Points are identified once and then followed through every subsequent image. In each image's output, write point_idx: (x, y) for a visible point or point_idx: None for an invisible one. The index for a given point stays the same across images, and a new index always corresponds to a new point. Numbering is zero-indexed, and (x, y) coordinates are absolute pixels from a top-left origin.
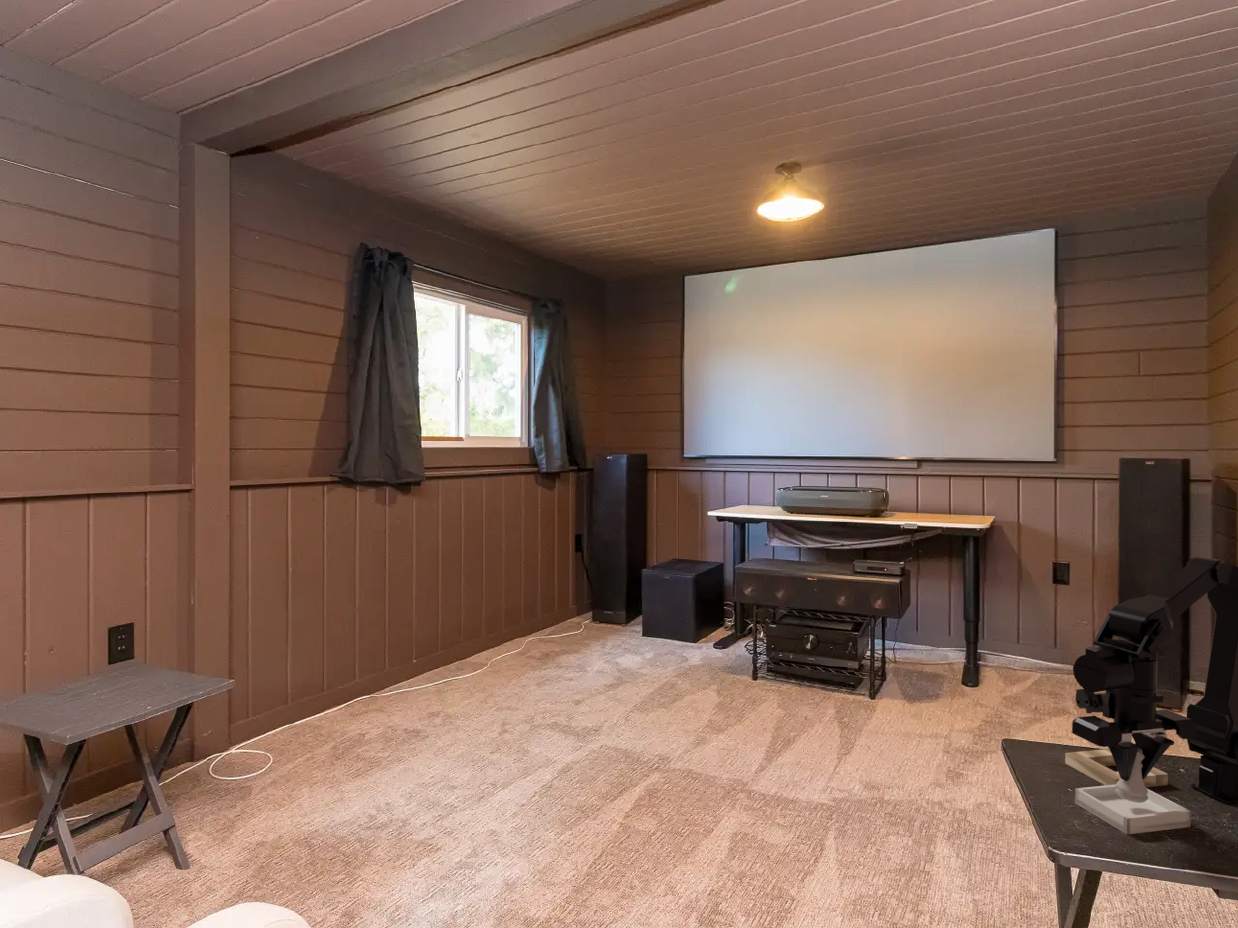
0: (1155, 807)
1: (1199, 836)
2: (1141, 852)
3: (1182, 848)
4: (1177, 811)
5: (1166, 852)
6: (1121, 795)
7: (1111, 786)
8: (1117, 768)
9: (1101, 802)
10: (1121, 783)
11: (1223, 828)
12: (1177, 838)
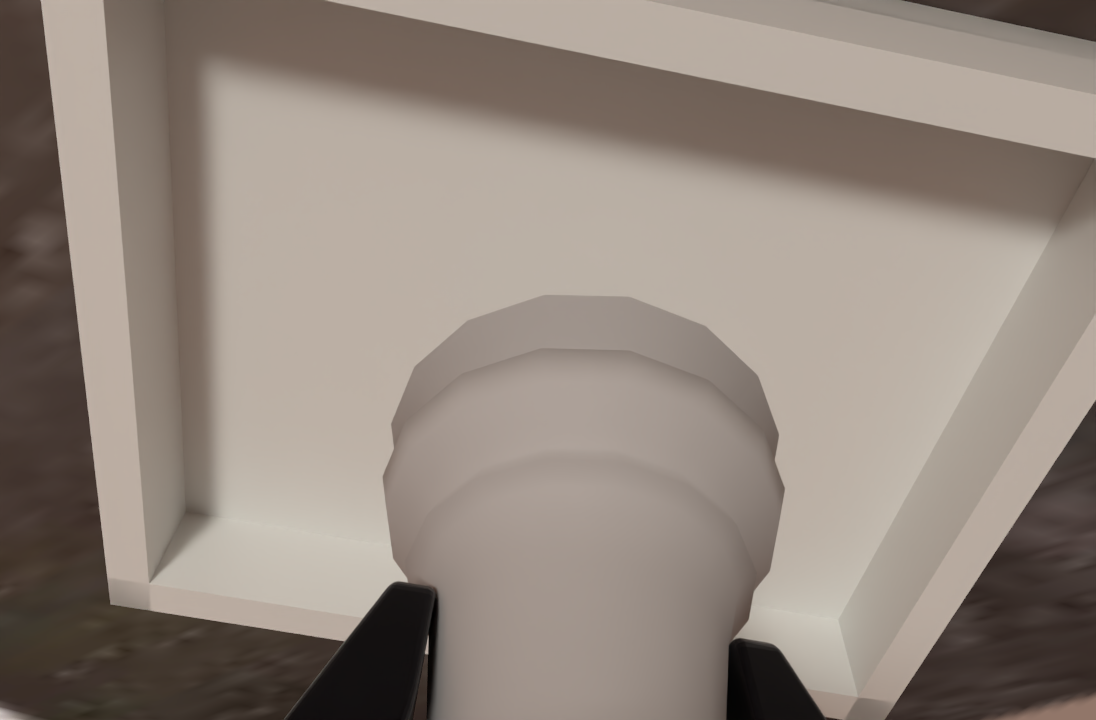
0: (866, 423)
1: None
2: (72, 639)
3: (424, 701)
4: None
5: (258, 689)
6: (398, 437)
7: (730, 75)
8: (297, 707)
9: (112, 324)
10: (427, 512)
11: (1056, 686)
12: None
